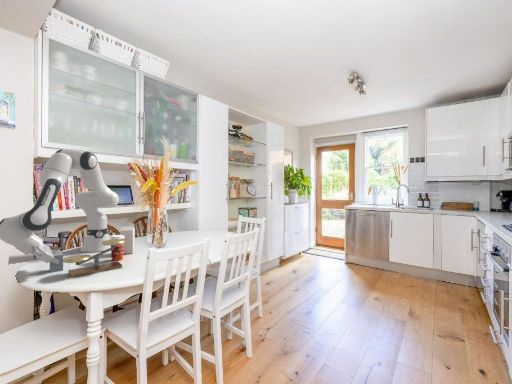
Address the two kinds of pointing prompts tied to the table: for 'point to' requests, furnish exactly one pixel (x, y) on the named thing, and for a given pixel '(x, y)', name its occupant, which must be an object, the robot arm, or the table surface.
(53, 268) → the block
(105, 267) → the balance
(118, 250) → the paper cup
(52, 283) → the table surface
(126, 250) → the milk carton
